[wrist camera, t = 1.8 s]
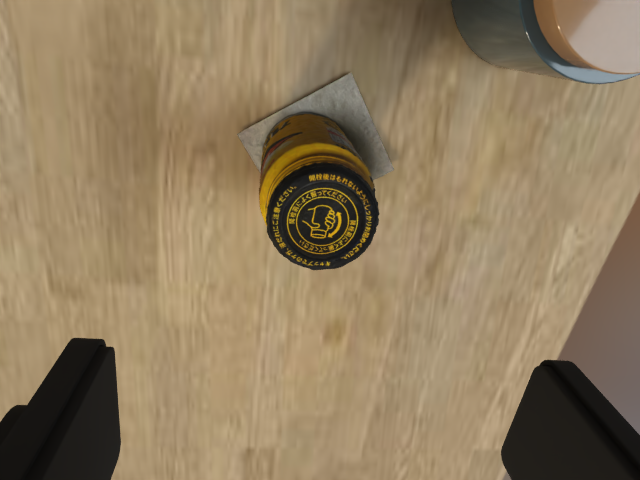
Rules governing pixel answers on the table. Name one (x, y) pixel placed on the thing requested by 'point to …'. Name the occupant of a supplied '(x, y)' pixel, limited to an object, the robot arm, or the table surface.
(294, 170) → the yellow coffee bottle
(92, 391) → the robot arm
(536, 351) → the table surface
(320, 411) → the table surface
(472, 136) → the table surface
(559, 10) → the blue jar
